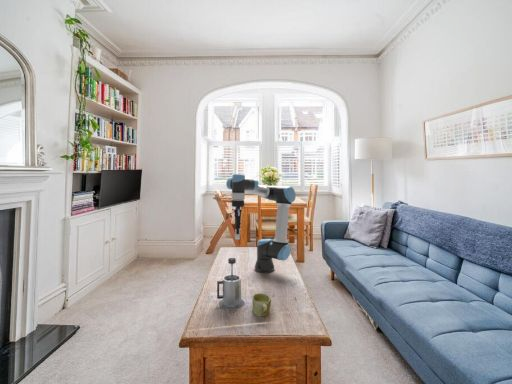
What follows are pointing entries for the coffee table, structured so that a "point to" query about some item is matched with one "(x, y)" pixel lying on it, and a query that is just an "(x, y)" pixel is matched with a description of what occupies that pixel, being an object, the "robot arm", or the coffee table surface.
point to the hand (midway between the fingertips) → (237, 239)
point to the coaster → (231, 308)
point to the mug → (261, 304)
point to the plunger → (231, 261)
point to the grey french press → (230, 291)
